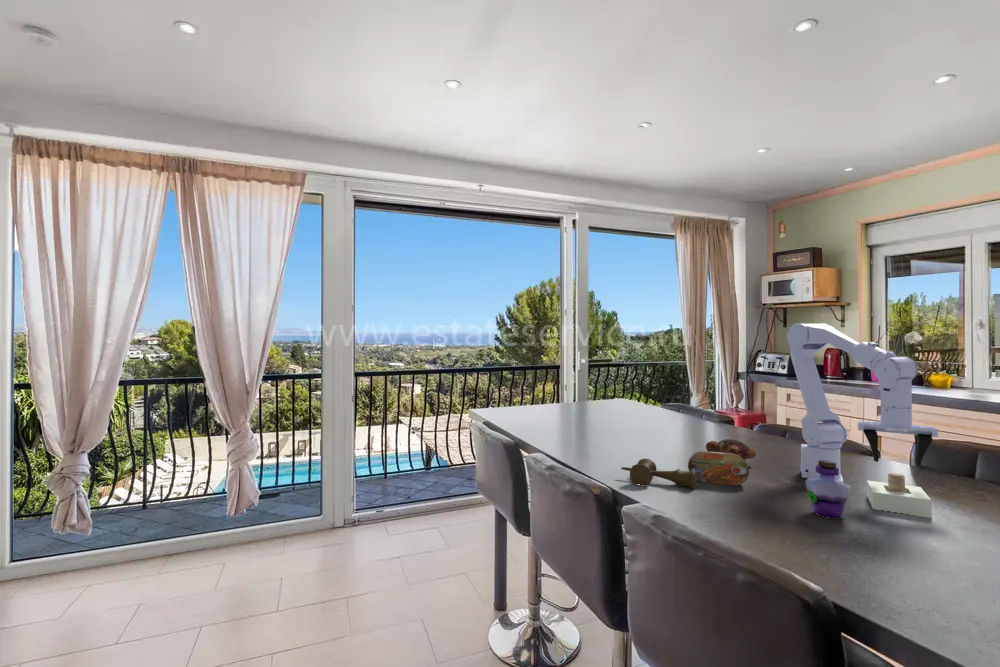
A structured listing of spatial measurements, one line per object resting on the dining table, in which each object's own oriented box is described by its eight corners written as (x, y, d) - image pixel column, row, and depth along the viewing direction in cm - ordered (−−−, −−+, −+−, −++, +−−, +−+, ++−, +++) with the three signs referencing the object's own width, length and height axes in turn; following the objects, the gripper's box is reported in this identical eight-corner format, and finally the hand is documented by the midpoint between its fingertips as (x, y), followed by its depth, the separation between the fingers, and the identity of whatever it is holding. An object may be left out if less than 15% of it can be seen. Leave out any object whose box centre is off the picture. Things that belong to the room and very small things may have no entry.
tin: (688, 480, 128) (687, 450, 128) (688, 477, 131) (688, 448, 131) (749, 488, 121) (748, 456, 121) (748, 484, 124) (748, 453, 124)
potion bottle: (796, 510, 105) (795, 458, 105) (820, 505, 108) (819, 454, 108) (836, 525, 97) (835, 468, 97) (860, 518, 100) (860, 463, 101)
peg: (890, 505, 107) (889, 475, 107) (887, 501, 109) (886, 472, 109) (907, 508, 105) (905, 477, 105) (904, 503, 107) (903, 474, 108)
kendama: (694, 496, 117) (616, 482, 126) (698, 486, 125) (624, 474, 135) (695, 472, 117) (617, 461, 127) (698, 464, 125) (625, 454, 135)
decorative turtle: (698, 462, 146) (698, 437, 146) (743, 460, 148) (742, 435, 148) (716, 471, 136) (716, 444, 136) (763, 469, 138) (763, 442, 138)
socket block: (873, 509, 105) (872, 492, 105) (867, 496, 114) (866, 480, 114) (931, 518, 100) (931, 500, 100) (920, 504, 108) (920, 487, 108)
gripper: (859, 406, 111) (860, 462, 111) (941, 411, 103) (941, 472, 103) (856, 402, 117) (857, 455, 117) (933, 407, 109) (934, 464, 109)
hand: (896, 463), depth 110 cm, fingers open, 7 cm apart
